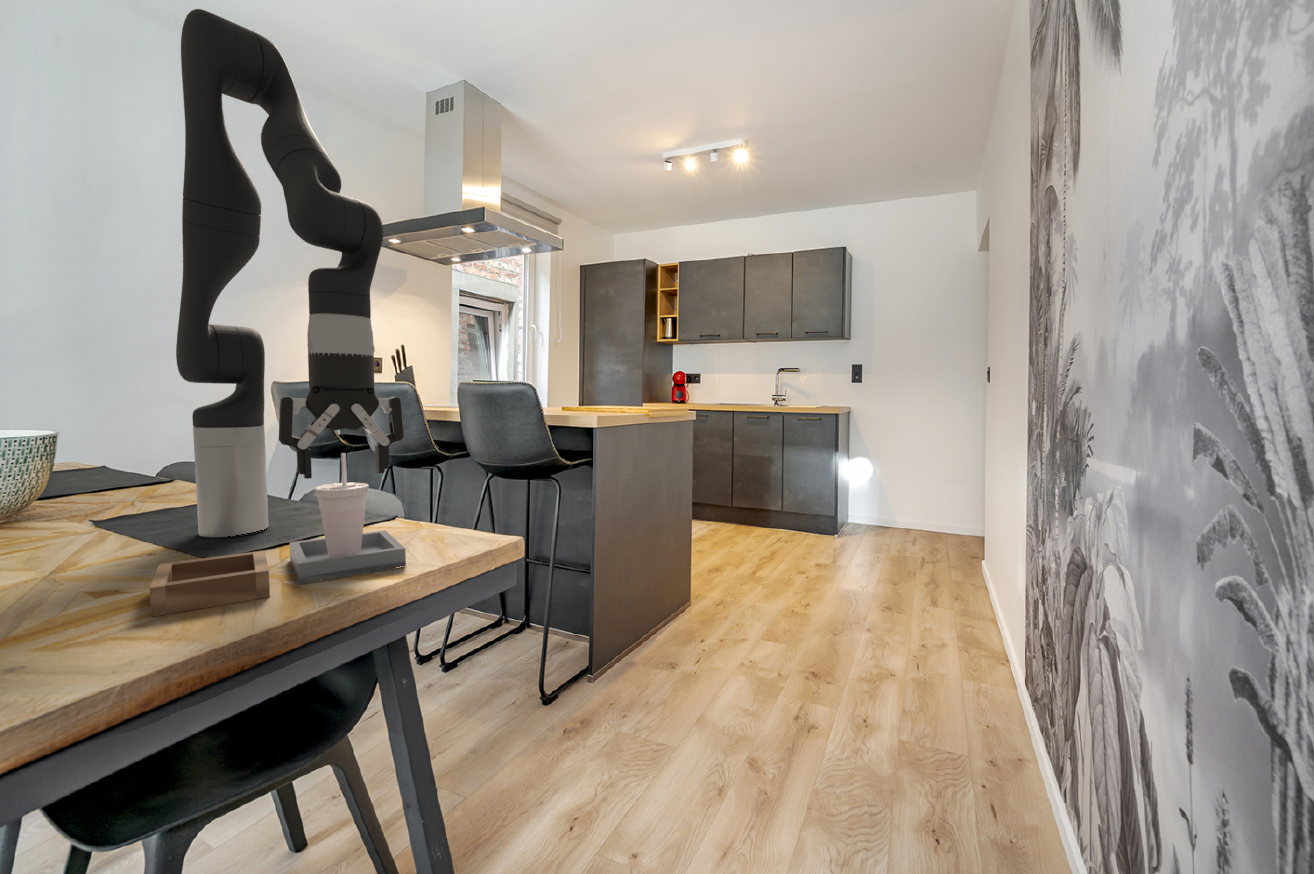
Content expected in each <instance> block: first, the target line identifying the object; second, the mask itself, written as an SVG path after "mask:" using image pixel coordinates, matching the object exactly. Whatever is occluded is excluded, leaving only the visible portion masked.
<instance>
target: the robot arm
mask: <svg viewBox="0 0 1314 874" xmlns="http://www.w3.org/2000/svg"><path fill="white" fill-rule="evenodd" d="M181 28H182V29H181V30H182V31H181V36H180V62H181V65H180V66H181V78H182V79H181V81H182V93H183V94H182V95H183V96H182V97H183V109H184V112H183V113H184V127H185V128H184V129H185V130H184V131H185V134H184V135H185V139H184V140H185V141H184V144H185V145H184V148H185V149H184V171H183V187H182V189H183V191H182V212H181V213H182V217H181V218H182V219H181V223H182V224H181V225H182V227H181V228H182V281H181V282H182V283H181V285H182V286H181V294H180V295H181V296H180V305H179V306H180V307H179V314H178V323H177V324H178V325H177V334H176V344H175V345H176V348H175V354H176V355H175V357H176V358H175V359H176V366H177V370H178V373H179V375H180V376H181V378H182V379H183V380H184V381H186V382H188V383H192V384H193V383H194V384H221V385H222V384H223V385H224V384H225V385H226V384H233V385H235V387H234V388H235V390H234V391H233V392H232V393H231V394H230V395H229V396H227V397H225V398H223V399H221V400H218V401H216V402H213V403H209V404H207V405H203V406H200V407H197V408H195V409H194V410H193V411H192V426H193V427H192V433H193V434H192V435H193V437H192V438H193V451H194V469H195V470H194V471H195V487H196V488H195V489H196V507H197V508H196V509H197V511H196V512H197V513H196V514H197V528H198V536H199V537H203V538H229V537H228V536H230V537H236V535H239V536H242V535H241V534H245V535H247V534H246V533H251V532H255V531H259V530H263V531H265V530H267V529H268V528H269V527H268V526H269V507H268V505H269V503H268V483H267V480H268V479H267V478H268V477H267V460H266V459H267V456H266V438H265V435H266V433H265V371H266V370H265V368H266V367H265V366H266V363H265V362H266V360H265V358H266V356H265V355H266V353H265V352H266V351H265V345H264V342H263V338H262V336H261V333H259V331H258V330H256V329H255V328H253V327H252V328H251V327H246V326H245V327H244V326H235V325H233V326H232V325H225V324H224V325H223V324H222V325H221V324H210V319H211V316H212V313H213V312H212V311H213V309H214V306H215V304H216V301H217V300H218V298H219V296H220V295H221V293H222V291H224V289H225V288H226V287H227V285H229V283H230V282H231V281H232V280H233V279H234V278H235V277H236V276H237V275H238V274H239V272H240V271H242V269H243V268H244V267H245V266H246V265H247V264H248V263H249V262H250V261H251V259H252V258H253V257H254V255H255V253H256V252H257V250H258V248H259V246H260V240H261V225H262V224H261V222H262V201H261V198H260V195H259V193H258V190H257V188H256V185H255V184H254V182H253V180H252V178H251V176H250V174H249V173H248V171H247V168H245V166H244V164H243V162H242V159H241V158H240V156H239V155H238V153H237V151H236V149H235V147H234V144H233V143H232V140H231V137H230V135H229V133H228V129H227V126H226V120H225V116H224V109H223V95H224V96H228V97H231V98H234V99H236V100H239V101H242V102H245V103H248V104H250V105H251V104H252V105H257V106H259V107H261V108H262V110H264V111H265V113H266V114H267V115H268V116H267V118H266V119H265V122H264V124H263V126H262V128H261V132H260V143H261V149H262V152H263V155H264V157H265V159H266V161H267V163H268V165H269V166H270V168H271V170H272V172H273V173H274V174H275V177H276V178H277V179H278V181H279V183H280V184H281V187H282V190H283V196H284V200H285V206H286V212H287V219H288V223H289V226H290V228H291V229H292V230H293V233H295V234H296V235H297V237H299V238H300V239H301V240H302V241H304V242H305V243H307V244H309V245H312V246H314V247H317V248H323V249H326V250H332V251H334V252H338V253H341V259H340V261H339V263H338V265H337V267H319V268H316V269H313V270H312V271H311V272H310V273H309V275H308V280H307V281H308V282H307V284H308V285H307V287H308V288H307V289H308V314H309V315H308V323H307V324H308V325H307V334H306V335H307V362H308V363H307V365H308V367H307V368H308V394H307V396H306V398H298V397H290V396H282V397H281V398H280V399H279V419H278V420H279V421H278V441H279V442H280V443H281V445H284V446H288V447H292V448H295V451H296V464H297V465H296V468H297V469H296V470H297V471H298V474H300V476H301V475H303V478H304V479H305V480H307V479H312V477H313V475H312V474H313V471H312V450H311V448H310V445H311V444H312V443H313V441H314V440H315V439H316V438H317V437H318V436H320V434H321V433H322V432H323V430H324V429H327V430H330V431H340V430H344V429H345V430H349V431H352V430H353V431H356V430H357V431H358V430H359V429H364V430H365V431H366V432H367V433H368V434H369V435H370V436H371V438H373V440H374V441H375V443H376V444H375V445H374V451H375V453H374V456H375V457H374V458H375V460H374V461H375V462H374V463H375V473H377V474H384V473H385V470H386V469H387V470H388V469H389V467H390V445H392V444H393V443H396V442H399V441H402V440H403V439H404V427H403V425H404V424H403V415H402V404H401V403H402V402H401V399H400V398H399V397H395V396H390V397H388V398H378V397H377V395H376V393H375V360H374V359H375V357H374V354H375V351H376V350H375V345H374V334H373V332H374V331H373V328H372V319H371V318H372V313H371V311H372V309H371V308H372V307H371V287H372V282H373V280H374V279H373V278H374V275H375V271H376V267H377V263H378V260H379V256H380V253H381V250H382V246H383V241H384V227H383V222H382V220H381V217H380V215H379V213H378V211H377V210H376V209H375V207H373V206H372V205H371V204H369V203H367V202H365V201H363V200H360V199H357V198H353V197H351V196H347V195H345V194H341V193H340V192H341V190H342V179H341V175H340V173H339V171H338V168H337V167H336V166H335V164H334V161H332V159H331V158H330V156H329V154H328V153H327V151H326V150H325V148H324V147H323V145H322V143H321V142H320V141H319V139H318V137H317V135H316V134H315V132H314V130H313V128H312V126H311V124H310V121H309V119H308V117H307V114H306V112H305V109H304V107H303V103H302V101H301V97H300V95H299V91H298V90H297V87H296V86H295V83H294V82H295V81H294V80H293V77H292V75H291V72H290V70H289V69H290V68H289V67H288V63H286V61H285V59H284V56H283V54H282V52H280V50H279V49H278V47H277V46H276V45H275V44H274V43H273V42H272V41H271V40H269V39H268V38H267V37H265V36H263V35H261V34H259V33H257V32H256V31H254V30H251V29H248V28H246V27H244V26H242V25H239V24H237V23H235V22H232V21H230V20H228V19H227V18H224V17H221V16H220V15H218V14H215V13H212V12H210V11H207V10H204V9H202V8H195V9H191V10H190V11H189V13H187V15H186V17H185V19H184V21H183V24H182V27H181ZM302 407H305V408H306V409H307V410H308V412H309V413H311V415H312V416H313V417H314V418H313V419H312V421H311V422H310V423H309V424H308V425H307V427H305V430H304V431H303V432H302V433H301V434H300V436H298V437H297V436H295V435H293V415H298V414H299V413H300V411H301V408H302ZM379 407H381V409H382V411H383V412H384V413H385V414H388V415H387V416H388V426H389V433H386V434H385V433H384V431H382V429H381V427H379V425H378V424H377V423H376V422H375V421H374V419H373V418H372V416H373V414H374V413H375V412H376V411H377V410H378V408H379ZM267 527H268V528H267ZM266 528H267V529H266ZM264 529H265V530H264ZM259 532H260V531H259ZM251 534H252V533H251Z"/></svg>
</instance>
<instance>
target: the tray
mask: <svg viewBox="0 0 1314 874" xmlns="http://www.w3.org/2000/svg"><path fill="white" fill-rule="evenodd" d="M289 556H290V557H289V558H290V559H289V560H291V561H290V563H291V566H292V569H293V571H294V575H295V578H296V580H298V581H297V583H298V585H303V584H308V583H315V581H317V582H321V581H320V580H323V581H328V580H335V579H339V578H340V579H341V578H347V577H352V576H359V575H364V574H363V573H366V574H371V573H377V571H378V572H383V571H382V570H384V571H389V570H388V569H390V570H394V569H393V568H396V567H400V566H401V567H402V566H406V567H407V564H406V562H407V561H406V560H407V559H406V556H407V555H406V547H405V546H404V545H402V544H401V543H400V542H399V541H398V540H397V539H396V538H395V537H393V536H392V535H391V534H390V533H389V532H388V531H387V530H378V531H377V530H376V531H370V532H369V531H368V532H363V535H362V545H361V553H356V554H349V555H342V556H335V557H329V556H328V551H327V545H326V540H325V537H323V538H315V539H306V540H305V539H304V540H295V541H291V542H289ZM402 568H403V567H402ZM396 569H397V568H396ZM358 574H359V575H358Z"/></svg>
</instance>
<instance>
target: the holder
mask: <svg viewBox="0 0 1314 874" xmlns="http://www.w3.org/2000/svg"><path fill="white" fill-rule="evenodd" d="M266 556H267V555H266V551H265V550H257V551H251V552H244V553H235V554H227V555H220V556H219V555H218V556H210V557H205V558H196V559H189V560H179V561H172V562H165V563H159V564H158V567H157V569H156V572H155V574H154V576H153V579H152V581H151V583H150V586H149V601H150V616H151V617H152V618H153V617H157V616H158V617H159V616H164V615H171V614H177V613H181V612H190V611H195V610H200V609H206V608H211V607H217V606H218V607H219V606H223V605H229V604H235V603H241V602H247V601H254V600H258V599H264V598H270V597H271V592H270V587H271V586H270V571H269V570H270V569H269V566H268V561H267V557H266Z"/></svg>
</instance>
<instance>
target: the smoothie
mask: <svg viewBox="0 0 1314 874" xmlns="http://www.w3.org/2000/svg"><path fill="white" fill-rule="evenodd" d="M340 454H341V455H340V457H341V458H340V459H341V462H340V463H341V482H339V483H338V482H337V483H329V484H322V485H318V486H316V487H315V488H314V495H313V496H314V497H317V503H318V507H319V508H318V509H319V512H320V518H321V523H322V529H323V533H324V538H325V540H326V545H327V551H328V556H329V557H335V556H342V555H349V554H356V553H361V545H362V535H363V533H364V525H365V524H364V523H365V512H366V504H367V495H368V494H369V492H370V487H369V485H370V484H368V483H365V482H352V481H351V482H348V476H347V475H348V474H347V473H348V472H347V453H346V452H342V453H340Z"/></svg>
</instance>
